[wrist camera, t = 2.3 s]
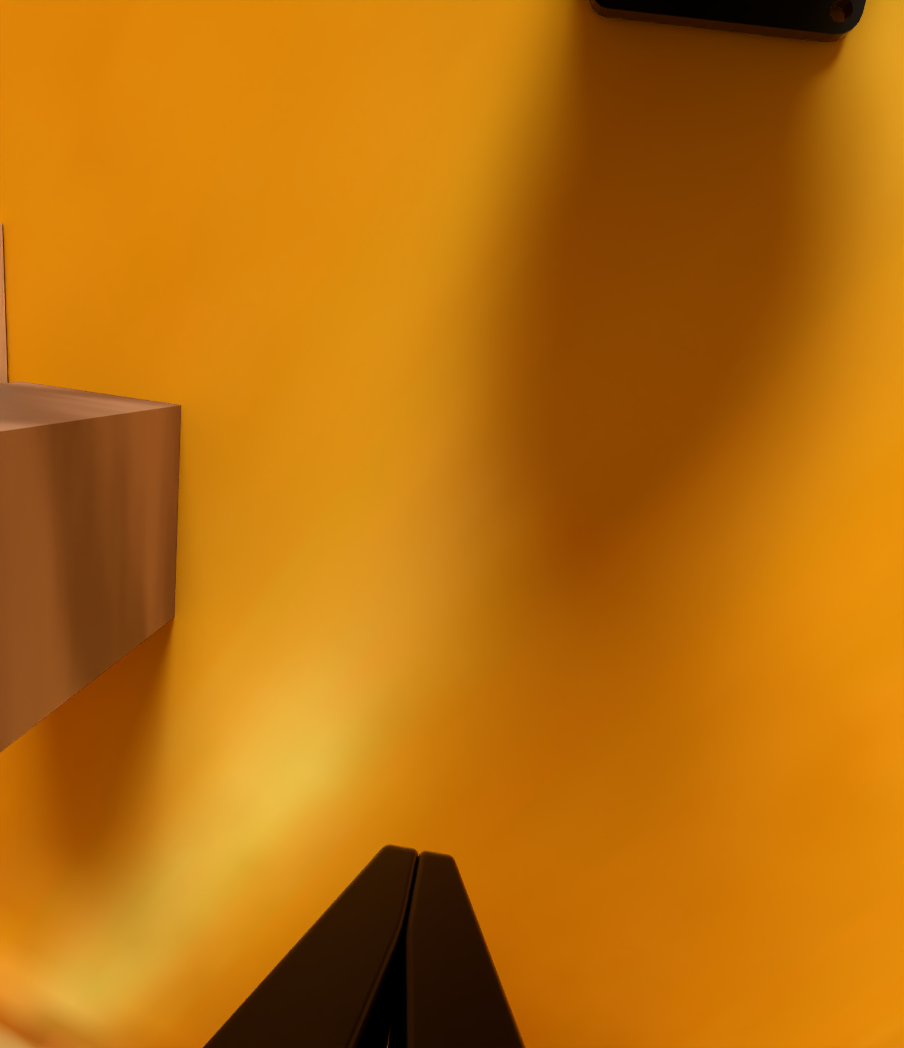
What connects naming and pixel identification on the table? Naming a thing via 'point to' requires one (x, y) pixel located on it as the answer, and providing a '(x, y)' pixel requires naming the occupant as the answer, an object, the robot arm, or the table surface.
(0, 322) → the mat
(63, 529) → the walnut block
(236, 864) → the table surface
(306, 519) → the table surface
